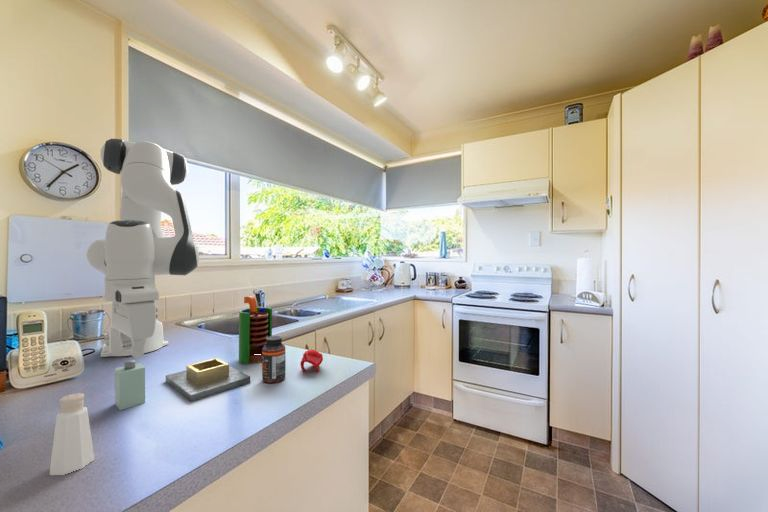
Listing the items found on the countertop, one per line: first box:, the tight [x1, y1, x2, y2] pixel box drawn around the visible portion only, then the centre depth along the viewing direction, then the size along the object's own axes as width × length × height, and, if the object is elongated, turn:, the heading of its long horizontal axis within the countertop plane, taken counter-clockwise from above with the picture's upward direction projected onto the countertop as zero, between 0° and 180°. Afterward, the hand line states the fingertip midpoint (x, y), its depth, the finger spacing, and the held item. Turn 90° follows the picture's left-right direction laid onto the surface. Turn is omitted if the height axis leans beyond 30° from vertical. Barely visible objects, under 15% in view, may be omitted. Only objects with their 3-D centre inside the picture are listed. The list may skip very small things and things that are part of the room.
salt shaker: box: [49, 392, 95, 476], centre depth 50 cm, size 5×5×11 cm
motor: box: [238, 295, 273, 365], centre depth 100 cm, size 10×9×20 cm
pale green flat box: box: [114, 359, 146, 411], centre depth 70 cm, size 4×4×10 cm
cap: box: [299, 349, 324, 373], centre depth 91 cm, size 8×6×6 cm
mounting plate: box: [165, 357, 251, 403], centre depth 82 cm, size 18×14×4 cm
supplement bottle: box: [261, 335, 286, 384], centre depth 84 cm, size 6×6×11 cm
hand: (131, 352), depth 70 cm, fingers open, 8 cm apart
